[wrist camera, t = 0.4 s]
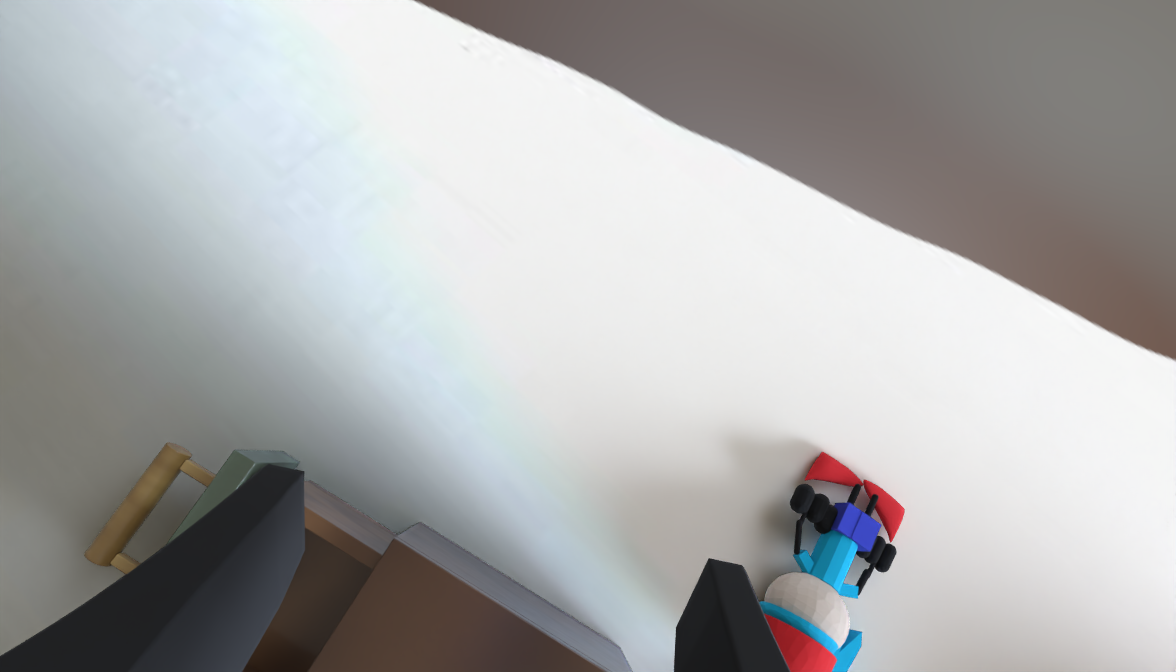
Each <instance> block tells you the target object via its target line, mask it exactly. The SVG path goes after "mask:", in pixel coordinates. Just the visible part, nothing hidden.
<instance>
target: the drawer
mask: <svg viewBox="0 0 1176 672" xmlns="http://www.w3.org/2000/svg"><path fill="white" fill-rule="evenodd" d="M191 457H192V454H191V453H190V452H189V451H188V450H186V449H185V448H183V447H181V446H179V445H177V444H174V443H170V442H167V443H166V444H165V445H164V447H163V448H162V449H161V451H160V452H159V453H158V455H157V456H156V457H155V459H154V460H153V461H152V463H151V464H150V465H149V467H148V468H147V469H146V471H145V472H144V474H143V475H142V476H141V478H140V479H139V480H138V482H137V483H136V484H135V486H134V487H133V488H132V490H131V491H130V492H129V494H128V495H127V496H126V498H125V499H124V500H123V502H122V503H121V504H120V506H119V507H118V508H117V510H116V511H115V512H114V514H113V515H112V517H111V518H110V519H109V521H108V522H107V523H106V525H105V526H104V527H103V529H102V530H101V531H100V533H99V534H98V535H97V537H96V538H95V539H94V541H93V542H92V543H91V545H90V546H89V547H88V549H87V550H86V551H85V553H84V556H85V557H86V558H87V559H88V560H89V561H91V562H93V563H95V564H97V565H100V566H111V565H112V566H114V567H116V568H117V569H119V570H120V571H122V572H123V573H125V574H127V573H129V572H130V571H132V570H133V569H134V568H136V567H137V566H139V565H140V564H141V563H139V562H138V561H136V560H134V559H133V558H131V557H130V556H128V555H127V554H125V553H121V552H122V551H123V549H124V548H125V547H126V545H127V544H128V543H129V541H130V540H131V539H132V537H133V536H134V534H135V533H136V532H137V530H138V529H139V528H140V526H141V525H142V524H143V522H144V521H145V519H146V518H147V517H148V515H149V514H150V513H151V511H152V510H153V509H154V507H155V506H156V504H157V503H158V502H159V500H160V499H161V498H162V496H163V495H164V493H165V492H166V491H167V489H168V488H169V487H170V485H171V484H172V483H173V481H174V480H175V478H176V477H177V476H178V474H179V473H180V472H181V471H183V472H184V473H186V474H187V475H189V476H191V477H192V478H194V479H195V480H197V481H199V482H200V483H202V484H203V485H205V486H206V487H207V489H206V490H205V491H204V493H203V494H202V496H201V497H200V498H199V500H198V501H197V502H196V504H195V505H194V507H193V508H192V509H191V511H190V512H189V514H188V515H187V516H186V518H185V519H184V521H183V522H182V523H181V525H180V526H179V528H178V529H177V530H176V532H175V533H174V534H173V536H172V537H171V539H170V540H169V541H168V543H169V542H171V541H172V540H173V539H175V538H176V537H177V536H179V535H180V534H181V533H183V532H184V531H185V530H186V529H188V528H189V527H190V526H192V525H193V524H194V523H195V522H197V521H198V520H199V519H200V518H202V517H203V516H204V515H205V514H207V513H208V512H209V511H210V510H212V509H213V508H214V507H215V506H217V505H218V504H219V503H220V502H222V501H223V500H224V499H225V498H226V497H228V496H229V495H230V494H231V493H233V492H234V491H235V490H236V489H237V488H239V487H240V486H241V485H242V484H243V483H245V482H246V481H247V480H248V479H249V478H250V477H252V476H253V475H254V474H255V473H256V472H258V471H259V470H260V469H261V468H262V467H264V466H266V465H268V464H271V465H276V466H281V467H285V468H290V469H295V468H296V467H297V466H298V464H299V463H300V462H299V461H298V460H296V459H295V458H293V457H292V456H290V455H288V454H287V453H285V452H284V451H264V450H234V451H233V452H232V454H231V455H230V457H229V458H228V459H227V461H226V462H225V464H224V465H223V466H222V468H221V469H220V471H219V472H218V473H217V475H215V474H213V473H212V472H210V471H208V470H207V469H205V468H204V467H202V466H200V465H199V464H197V463H196V462H194V461H192V460H189V459H190V458H191ZM304 509H305V551H304V553H303V556H302V558H301V560H300V563H299V565H298V567H297V569H296V572H295V574H294V576H293V579H292V581H291V583H290V585H289V588H288V590H287V592H286V594H285V596H284V599H283V601H282V603H281V605H280V607H279V609H278V611H277V612H276V614H275V616H274V618H273V619H272V621H271V623H270V625H269V626H268V628H267V630H266V632H265V633H264V635H263V637H262V638H261V640H260V642H259V644H258V645H257V647H256V649H255V651H254V652H253V654H252V656H251V657H250V659H249V661H248V663H247V664H246V666H245V668H244V669H243V671H242V672H307V671H308V669H309V668H310V666H311V665H312V663H313V662H314V660H315V659H316V657H317V655H318V654H319V652H320V651H321V649H322V648H323V646H324V645H325V643H326V642H327V640H328V638H329V637H330V635H331V634H332V632H333V631H334V629H335V628H336V626H337V625H338V623H339V621H340V620H341V618H342V617H343V615H344V614H345V612H346V611H347V609H348V608H349V606H350V604H351V603H352V601H353V600H354V598H355V597H356V595H357V594H358V592H359V591H360V589H361V587H362V586H363V584H364V583H365V581H366V580H367V578H368V577H369V575H370V574H371V572H372V570H373V569H374V567H375V566H376V564H377V563H378V561H379V560H380V558H381V557H382V555H383V553H384V552H385V550H386V549H387V547H388V546H389V544H390V543H391V541H392V540H393V538H395V537H396V536H398V535H397V534H395V533H394V532H392V531H390V530H389V529H387V528H386V527H384V526H383V525H381V524H379V523H378V522H376V521H375V520H373V519H371V518H370V517H368V516H367V515H365V514H363V513H362V512H360V511H359V510H357V509H355V508H354V507H352V506H351V505H349V504H348V503H346V502H344V501H343V500H341V499H340V498H338V497H336V496H335V495H333V494H332V493H330V492H328V491H327V490H325V489H324V488H322V487H320V486H319V485H317V484H316V483H314V482H313V481H311V480H309V481H304ZM168 543H167V544H168ZM167 544H166V545H167Z"/></svg>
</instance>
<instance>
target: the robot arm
mask: <svg viewBox="0 0 1176 672" xmlns="http://www.w3.org/2000/svg"><path fill="white" fill-rule="evenodd" d="M304 551H305V509H304V471H299V470H295V469H290V468H285V467H281V466H276V465H271V464H268V465H266V466H264V467H262V468H261V469H260V470H259V471H258V472H256V473H255V474H254V475H253V476H252V477H250V478H249V479H248V480H247V481H246V482H245V483H243V484H242V485H241V486H240V487H239V488H237V489H236V490H235V491H234V492H233V493H231V494H230V495H229V496H228V497H226V498H225V499H224V500H223V501H222V502H220V503H219V504H218V505H217V506H215V507H214V508H213V509H212V510H210V511H209V512H208V513H207V514H205V515H204V516H203V517H202V518H200V519H199V520H198V521H197V522H195V523H194V524H193V525H192V526H190V527H189V528H188V529H186V530H185V531H184V532H183V533H181V534H180V535H179V536H177V537H176V538H175V539H173V540H172V541H171V542H169V543H168V544H167V545H166V546H164V547H163V548H162V549H160V550H159V551H158V552H156V553H155V554H154V555H152V556H151V557H150V558H148V559H147V560H146V561H144V562H143V563H142V564H140V565H139V566H137V567H136V568H134V569H133V570H132V571H130V572H129V573H127V574H126V575H124V576H123V577H122V578H120V579H119V580H117V581H116V582H115V583H113V584H112V585H110V586H109V587H107V588H106V589H105V590H103V591H102V592H100V593H99V594H97V595H96V596H95V597H93V598H92V599H90V600H89V601H87V602H86V603H84V604H83V605H81V606H80V607H78V608H77V609H75V610H74V611H72V612H71V613H69V614H68V615H66V616H64V617H63V618H61V619H60V620H58V621H57V622H55V623H54V624H52V625H50V626H49V627H47V628H46V629H44V630H42V631H41V632H39V633H37V634H36V635H34V636H33V637H31V638H29V639H28V640H26V641H25V642H23V643H21V644H20V645H18V646H16V647H15V648H13V649H11V650H10V651H8V652H6V653H4V654H3V655H1V656H0V672H242V671H243V669H244V668H245V666H246V664H247V663H248V661H249V659H250V657H251V656H252V654H253V652H254V651H255V649H256V647H257V645H258V644H259V642H260V640H261V638H262V637H263V635H264V633H265V632H266V630H267V628H268V626H269V625H270V623H271V621H272V619H273V618H274V616H275V614H276V612H277V611H278V609H279V607H280V605H281V603H282V601H283V599H284V596H285V594H286V592H287V590H288V588H289V585H290V583H291V581H292V579H293V576H294V574H295V572H296V569H297V567H298V565H299V563H300V560H301V558H302V556H303V553H304ZM674 672H791V671H790V669H789V667H788V665H787V663H786V661H785V659H784V656H783V654H782V652H781V650H780V648H779V646H778V644H777V641H776V639H775V637H774V635H773V633H772V630H771V628H770V626H769V624H768V622H767V619H766V617H765V615H764V612H763V610H762V608H761V606H760V603H759V601H758V599H757V596H756V594H755V592H754V589H753V587H752V585H751V582H750V580H749V577H748V575H747V573H746V571H745V569H744V567H743V566H742V565H738V564H733V563H729V562H724V561H719V560H715V559H710V558H709V559H708V561H707V563H706V565H705V568H704V570H703V572H702V574H701V576H700V578H699V580H698V582H697V584H696V587H695V589H694V591H693V593H692V595H691V597H690V599H689V601H688V603H687V606H686V608H685V610H684V612H683V614H682V616H681V618H680V620H679V622H678V624H677V627H676V640H675V659H674Z"/></svg>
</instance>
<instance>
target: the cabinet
mask: <svg viewBox="0 0 1176 672" xmlns="http://www.w3.org/2000/svg"><path fill="white" fill-rule="evenodd" d="M307 672H633V671H632V670H631V668H630V666H629V664H628V662H627V660H626V658H625V656H624V654H623V652H622V650H621V648H620V647H619V646H618V645H616V644H614V643H613V642H611V641H610V640H608V639H606V638H605V637H603V636H602V635H600V634H599V633H597V632H595V631H594V630H592V629H591V628H589V627H587V626H586V625H584V624H583V623H581V622H579V621H578V620H576V619H575V618H573V617H571V616H570V615H568V614H567V613H565V612H563V611H562V610H560V609H559V608H557V607H555V606H554V605H552V604H551V603H549V602H548V601H546V600H544V599H543V598H541V597H540V596H538V595H536V594H535V593H533V592H532V591H530V590H528V589H527V588H525V587H524V586H522V585H520V584H519V583H517V582H516V581H514V580H512V579H511V578H509V577H508V576H506V575H505V574H503V573H501V572H500V571H498V570H497V569H495V568H493V567H492V566H490V565H489V564H487V563H485V562H484V561H482V560H481V559H479V558H477V557H476V556H474V555H473V554H471V553H469V552H468V551H466V550H465V549H463V548H462V547H460V546H458V545H457V544H455V543H454V542H452V541H450V540H449V539H447V538H446V537H444V536H442V535H441V534H439V533H438V532H436V531H434V530H433V529H431V528H430V527H428V526H426V525H425V524H423V523H422V522H419V523H417V524H416V525H414V526H412V527H411V528H409V529H408V530H406V531H404V532H403V533H401V534H400V535H398V536H396V537H395V538H393V540H392V541H391V543H390V544H389V546H388V547H387V549H386V550H385V552H384V553H383V555H382V557H381V558H380V560H379V561H378V563H377V564H376V566H375V567H374V569H373V570H372V572H371V574H370V575H369V577H368V578H367V580H366V581H365V583H364V584H363V586H362V587H361V589H360V591H359V592H358V594H357V595H356V597H355V598H354V600H353V601H352V603H351V604H350V606H349V608H348V609H347V611H346V612H345V614H344V615H343V617H342V618H341V620H340V621H339V623H338V625H337V626H336V628H335V629H334V631H333V632H332V634H331V635H330V637H329V638H328V640H327V642H326V643H325V645H324V646H323V648H322V649H321V651H320V652H319V654H318V655H317V657H316V659H315V660H314V662H313V663H312V665H311V666H310V668H309V669H308V671H307Z"/></svg>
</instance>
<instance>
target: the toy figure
mask: <svg viewBox="0 0 1176 672" xmlns="http://www.w3.org/2000/svg"><path fill="white" fill-rule="evenodd" d="M811 479H815V480H822V481H828V482H833V483H837V484H842V485H846V486H852V487H853V490H852V492H851V494H850V496H849V499H848V501H847V503H835V505H834V506H832V505H830V502H829V499H828V498H827V497H826V496H825V495H823V494H815V492H814V490H813V488H812V487H811V486H809V485H808V484H801V485H799V486H798V487H797V488H796V489H795V492H794V494H793V496H792V498H791V500H790V506H791V508H792V510H793V511H795V512H796V513H799V514H802V516H801V518H800V519H799V520H797V523H796V534H795V546H794V553H795V554H794V555H793V556H794V558H795V560H796V561H797V563H798V565H799V567H800V569H801V570H802V572H791V573H787V574H784V575H781V576H779V577H778V578H777V579H775V580H774V581H773V582H772V583H771V584H770V586H769V587H768V589H767V592H766V595H765V598H764V601H760V602H759V603H760V606H761V608H762V610H763V612H764V615H765V617H766V619H767V622H768V624H769V626H770V628H771V630H772V633H773V635H774V637H775V639H776V641H777V644H778V646H779V648H780V650H781V652H782V654H783V656H784V659H785V661H786V663H787V665H788V667H789V669H790V671H791V672H847V671H848V669H849V667H850V665H851V664H852V662H853V660H854V658H855V657H856V655H857V653H858V651H859V649H860V648H861V641H862V632H860V631H855V630H851V629H849V628H850V617H849V613H848V609H847V607H846V605H845V603H844V601H843V599H842V598H841V597H840V595H841V596H846V597H851V598H858V595H860V593H861V591H862V589H863V587H864V585H865V583H866V581H867V580H868V578H869V577H870V575H871V573H872V571H873V569H874V567H875V568H876V570H878V571H879V572H887V571H888V570H889V568H890V566H891V564H892V561H893V559H894V557H895V555H896V548H895V547H894V546H893V545H892V544H886V542H885V540H884V539H883V538H882V537H881V536H877V534H878V532H879V530H880V527H881V524H879V523H878V522H877V521H875V520H874V519H873V518H871V514H872V512H873V510H874V508H875V510H876V511H877V513H878V515H879V517H880V519H881V521H882V523H883V525H884V527H885V529H886V531H887V533H888V536H889V540H890V543H891V542H892V540H893V538H894V536H895V534H896V532H897V530H898V528H899V526H900V524H901V521H902V519H903V515H904V508H903V507H902V506H901V505H900V504H899V503H898V502H897V501H896V500H895V499H894V498H892V497H891V496H890V495H889V494H888V493H886V492H885V491H884V490H883V489H881V488H880V487H878V486H877V485H875V484H873V483H872V482H870V481H867V480H864V481H863V483H864V488H865V490H866V493H867V495H868V497H869V498H870V502H869V504H868V506H867V508H866V511H865V513H864V512H862V511H861V510H859V509H858V508H857V507H855V506H854V503H855V501H856V498H857V496H858V494H859V492H860V489H861V486H863V483H862V482H861V480H860V479H859V478H858V477H857V476H856V475H855V474H854V473H853V472H852V471H851V470H849V469H848V468H847V467H846V466H844V465H843V464H841V463H840V462H838V461H837V460H835V459H834V458H832V457H831V456H829V455H828V454H826V453H824V452H822V453H821V454H820V455H819V457H818V458H817V459H816V460H815V462H814V464H813V465H812V467H811V469H810V470H809V472H808V474H807V476H806V478H805V480H811ZM805 518H807V519H808V520H809V521H810V522H812V523H814V527H815V529H816V531H818V532H819V533H821V535H820V537H819V539H818V541H817V543H816V546H815V548H814V550H813V552H812V554H811V556H810V555H809V553H808V552H807V550H800V545H801V533H802V525H803V522H804V520H805ZM855 554H857V555H858V556H859V557H861V558H864V559H865V560H866V562H868V563H870V566H869V568H868V569H865V570H864V571H863V573H862V575H861V577H860V578H859V580H858V582H857V584H856V586H854V585H849V584H844V583H843V582H844V579H845V577H846V575H847V572H848V570H849V568H850V565H851V563H852V561H853V559H854V556H855Z"/></svg>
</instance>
